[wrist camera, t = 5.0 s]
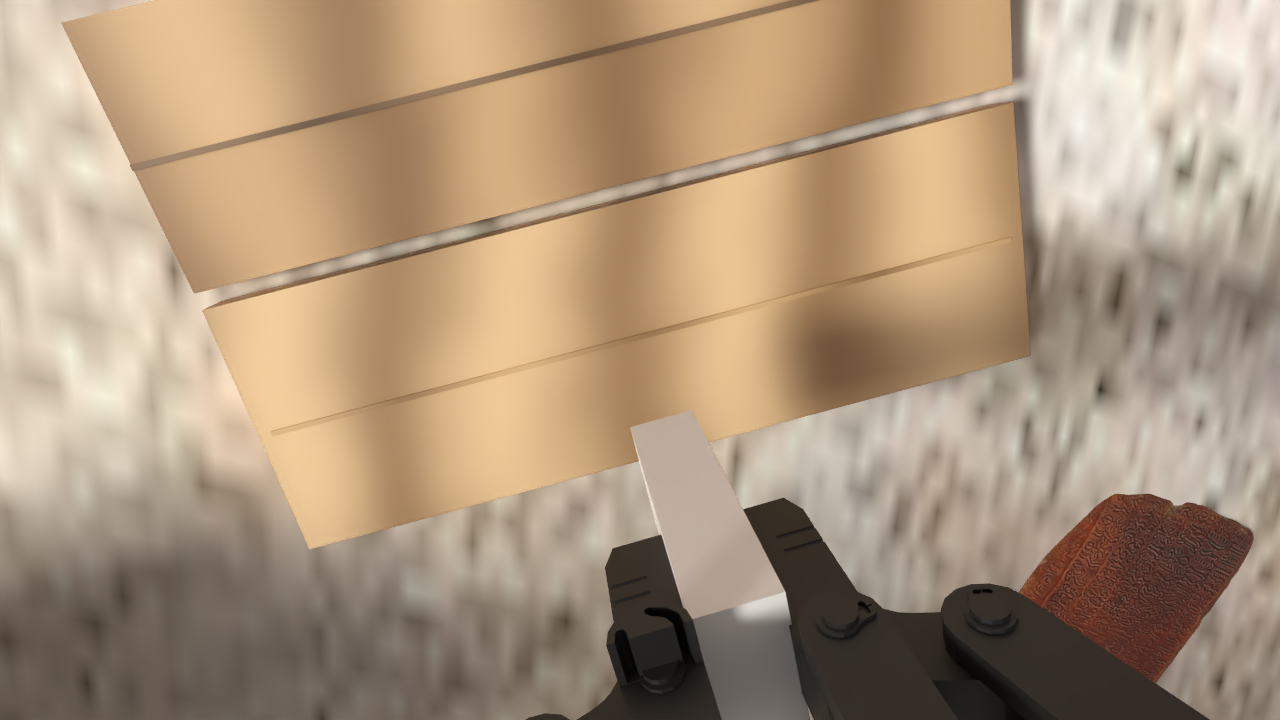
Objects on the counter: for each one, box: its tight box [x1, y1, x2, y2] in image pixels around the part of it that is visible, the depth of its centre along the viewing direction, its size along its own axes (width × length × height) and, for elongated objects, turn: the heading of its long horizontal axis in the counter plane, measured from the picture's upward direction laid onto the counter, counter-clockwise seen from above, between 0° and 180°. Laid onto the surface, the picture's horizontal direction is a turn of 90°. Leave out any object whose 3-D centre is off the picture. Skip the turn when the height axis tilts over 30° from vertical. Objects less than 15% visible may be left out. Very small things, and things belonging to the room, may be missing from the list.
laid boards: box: [62, 0, 1013, 293], centre depth 19 cm, size 24×7×1 cm, turn 103°
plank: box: [202, 102, 1031, 549], centre depth 22 cm, size 24×8×1 cm, turn 103°
